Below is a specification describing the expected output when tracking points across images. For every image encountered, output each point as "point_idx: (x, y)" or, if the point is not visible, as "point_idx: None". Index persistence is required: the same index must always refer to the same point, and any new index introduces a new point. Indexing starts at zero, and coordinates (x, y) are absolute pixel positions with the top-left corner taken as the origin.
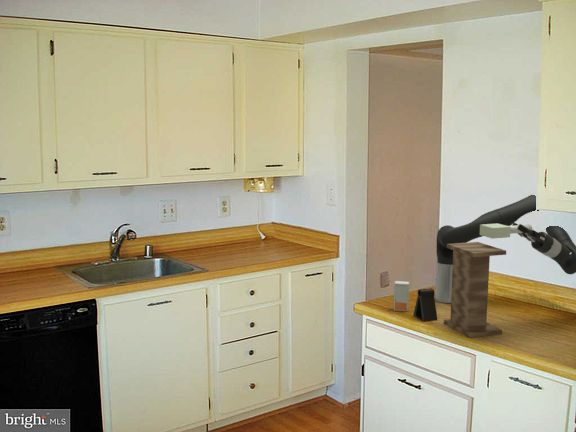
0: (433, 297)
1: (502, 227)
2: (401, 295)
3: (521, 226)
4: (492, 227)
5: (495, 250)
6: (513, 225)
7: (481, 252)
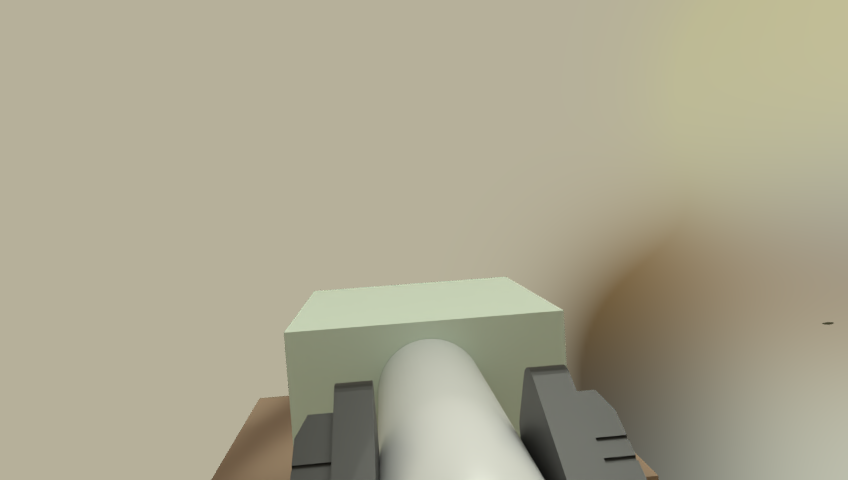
0: None
1: (300, 310)
2: None
3: (320, 426)
4: (340, 291)
5: (250, 474)
6: (522, 405)
7: (252, 418)
